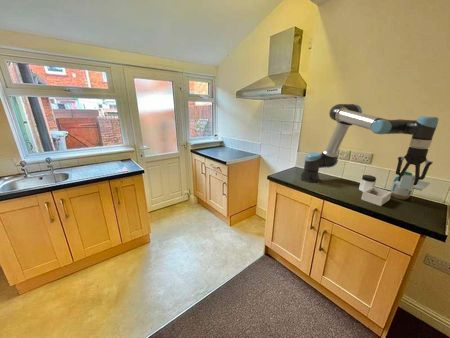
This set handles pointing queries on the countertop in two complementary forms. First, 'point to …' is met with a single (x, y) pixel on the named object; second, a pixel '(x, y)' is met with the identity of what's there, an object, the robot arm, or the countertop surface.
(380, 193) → the tub
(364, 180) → the jar
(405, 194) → the green capped bottle
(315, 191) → the countertop surface
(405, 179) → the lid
